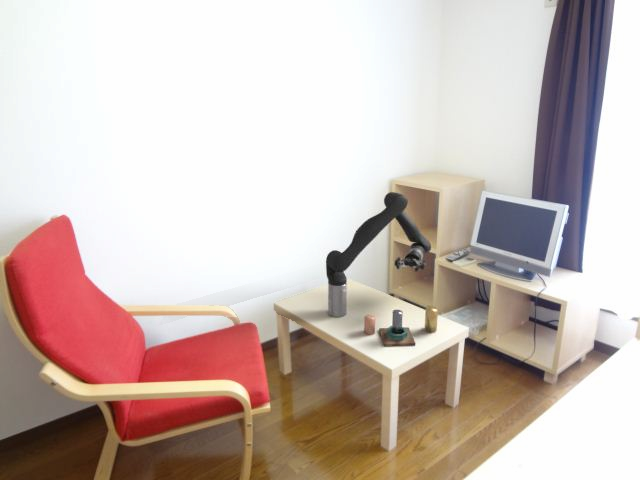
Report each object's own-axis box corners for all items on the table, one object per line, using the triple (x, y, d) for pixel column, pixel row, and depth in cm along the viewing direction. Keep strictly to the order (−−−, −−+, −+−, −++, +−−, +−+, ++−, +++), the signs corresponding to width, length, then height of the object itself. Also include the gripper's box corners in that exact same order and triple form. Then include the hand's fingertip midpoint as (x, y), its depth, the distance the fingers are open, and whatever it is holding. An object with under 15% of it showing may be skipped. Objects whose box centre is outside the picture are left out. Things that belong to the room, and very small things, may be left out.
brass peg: (426, 332, 210) (427, 311, 207) (423, 327, 215) (424, 306, 212) (437, 332, 210) (439, 311, 207) (434, 326, 215) (436, 305, 212)
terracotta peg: (364, 335, 209) (365, 319, 206) (363, 329, 214) (363, 314, 211) (375, 334, 209) (375, 319, 206) (373, 329, 214) (374, 314, 211)
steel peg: (392, 337, 204) (393, 314, 200) (391, 332, 208) (391, 309, 204) (402, 337, 204) (403, 314, 200) (400, 332, 208) (401, 309, 204)
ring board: (384, 346, 199) (384, 338, 198) (379, 330, 213) (379, 323, 212) (415, 345, 200) (415, 338, 199) (408, 329, 213) (408, 322, 212)
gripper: (400, 248, 228) (392, 259, 214) (428, 252, 222) (422, 263, 208) (399, 262, 230) (391, 273, 216) (428, 266, 225) (421, 278, 210)
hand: (406, 268), depth 212 cm, fingers open, 8 cm apart
